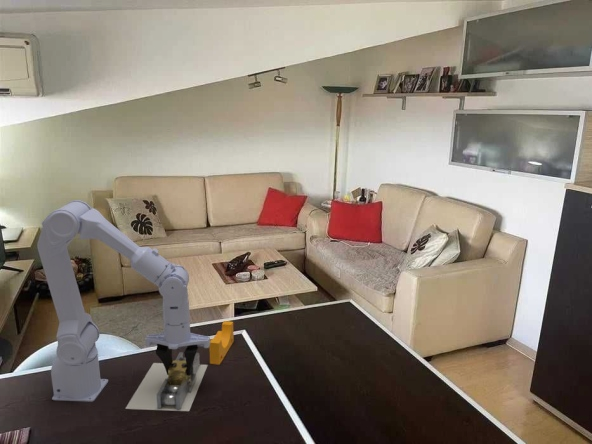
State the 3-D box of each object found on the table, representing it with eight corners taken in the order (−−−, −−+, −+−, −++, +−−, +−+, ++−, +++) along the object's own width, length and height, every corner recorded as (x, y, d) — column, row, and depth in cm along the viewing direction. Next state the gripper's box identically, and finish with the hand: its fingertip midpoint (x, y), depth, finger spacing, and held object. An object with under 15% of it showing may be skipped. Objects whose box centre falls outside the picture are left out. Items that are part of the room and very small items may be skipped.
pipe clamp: (218, 341, 128) (218, 320, 126) (233, 342, 127) (233, 321, 126) (203, 364, 116) (202, 341, 115) (219, 366, 116) (219, 343, 114)
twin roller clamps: (154, 408, 98) (153, 394, 98) (177, 364, 115) (176, 352, 115) (183, 410, 98) (182, 396, 97) (202, 365, 115) (201, 352, 114)
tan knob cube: (174, 375, 108) (173, 359, 107) (190, 375, 108) (189, 359, 107) (169, 385, 105) (168, 368, 103) (186, 385, 104) (185, 369, 103)
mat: (125, 409, 98) (125, 408, 98) (153, 364, 116) (153, 362, 116) (189, 412, 98) (189, 411, 98) (207, 365, 115) (207, 364, 115)
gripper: (138, 327, 99) (142, 381, 102) (204, 329, 98) (206, 384, 102) (149, 312, 106) (153, 364, 109) (211, 314, 105) (213, 366, 109)
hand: (179, 372), depth 106 cm, fingers closed on tan knob cube, 4 cm apart
